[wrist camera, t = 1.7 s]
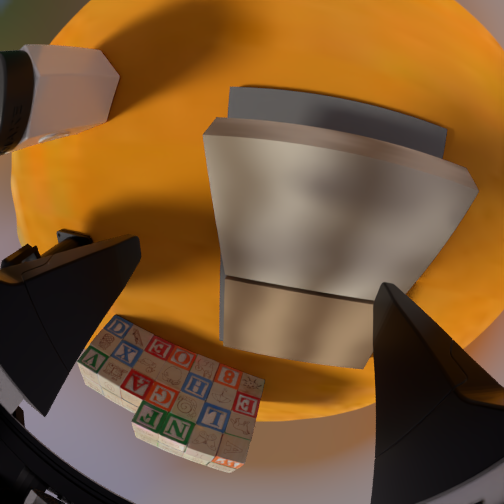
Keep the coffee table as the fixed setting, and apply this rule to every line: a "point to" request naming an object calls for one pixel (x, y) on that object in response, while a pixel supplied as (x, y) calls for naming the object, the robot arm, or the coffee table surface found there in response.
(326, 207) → the ash plank
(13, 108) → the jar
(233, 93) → the underlay mat
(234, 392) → the stack of blocks
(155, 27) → the coffee table surface
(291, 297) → the oak board
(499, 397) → the robot arm
